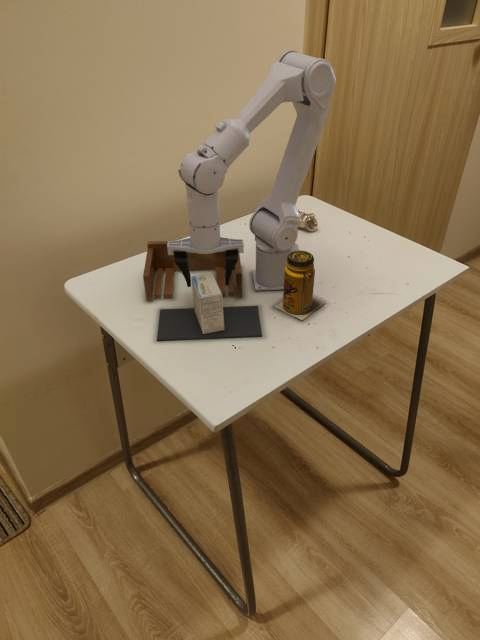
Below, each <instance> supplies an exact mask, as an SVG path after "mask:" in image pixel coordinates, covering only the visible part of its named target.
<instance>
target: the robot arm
mask: <svg viewBox="0 0 480 640" xmlns="http://www.w3.org/2000/svg"><path fill="white" fill-rule="evenodd" d="M269 69H270V70H269V74H268V76H267V78H266V79H265V80H264V81H263V83H262V84H261V86H259V88H258V89H257V91H256V92H255V93H254V94H253V96H252V97H251V98H250V100H248V102H247V103H246V104H245V106H244V107H243V108H242V110H241V111H240V112H239V113H238V115H237V116H236V117H235V118H226V119H224V120H223V121H219V122H218V123H217V124H216V125H215V130H214V131H213V132H212V134H211V135H209V137H208V138H207V139H206V140H205V141H204V143H203V144H200V145H199V146H198V147H197V148H196V149H197V150H196V151H193V152H189V153H187V154H186V155H185V156H184V157H183V159H182V161H181V163H180V168H178V170H177V173H178V176H179V178H180V180H182V181H183V183H184V184H185V185H184V186H185V192H186V194H185V195H186V206H187V216H188V229H189V230H188V231H189V238H183V239H178V240H167V241H168V243H167V249H168V255H174V261H175V263H176V265H177V266H178V267H179V269H180V270H181V271H180V272H181V274H182V276H183V278H184V280H185V283H186V287H187V288H192V276H191V271H190V270H189V262H188V253H199V254H211V253H216V252H225V263H226V266H225V270H224V279H225V287H228V286H229V281H230V277H231V273H232V272H234V267H235V265H236V263H237V261H238V253H239V254H244V252H245V251H244V250H245V249H244V248H245V247H244V246H245V245H244V244H245V243H244V239H238V238H237V239H236V238H228V237H222V236H221V222H220V221H221V220H220V202H219V201H220V200H219V189H221V188H222V187H223V185H224V182H225V176H226V174H227V173H228V170H229V168H230V167H231V165H232V164H233V163H234V162H235V161H236V160H237V159H238V158H239V157H240V156H241V154H242V153H243V152H244V151H245V150H246V149H247V148H248V147H249V145H250V135H251V133H253V131H254V130H256V128H258V127H259V126H260V124H262V123H263V122H264V121H265V120H266V119H268V117H269V116H270V115H271V114H272V113H273V112H274V111H275V110H276V109H277V108H278V107H280V105H281V104H283V103H292V105H293V107H294V110H295V112H296V118H295V120H294V123H293V126H292V129H291V133H290V135H289V138H288V141H287V143H286V148H285V150H284V152H283V155H282V159H281V162H280V165H279V168H278V171H277V173H276V176H275V179H274V181H273V182H274V183H273V186H272V188H271V191H270V194H269V195H268V196H267V197H265V198H262V199H261V200H259V203H258V205H257V208H256V209H255V211H254V212H253V214H251V217H250V219H249V224H248V225H249V230H250V232H251V234H252V235H254V241H255V269H254V270H252V279H253V285H254V286H253V287H254V290H255V291H280V290H281V291H282V290H283V291H284V273H285V267H286V266H287V256H288V254H289V253H291V252H293V251H298V250H299V251H300V247H299V244H298V243H296V242H297V240H298V235H299V227H298V225H299V222H300V217H299V214H300V213H299V212H298V208H297V206H296V204H297V201H298V199H299V196H300V194H301V191H302V188H303V185H304V183H305V180H306V177H307V174H308V172H309V169H310V166H311V163H312V162H313V158H314V154H315V153H316V150H317V147H318V144H319V141H320V138H321V136H322V133H323V130H324V128H325V125H326V122H327V120H328V116H329V114H330V112H329V111H330V105H331V104H330V103H331V102H330V101H331V98H332V95H333V93H334V89H335V86H336V84H337V78H336V75H335V72H334V68H333V66H332V64H331V62H329V60H327V59H325V58H321V57H319V58H318V57H315V56H311V55H307V54H305V53H300V52H299V51H296V50H293V49H291V50H290V49H289V50H286V51H284V52H283V53H282V54H281V55H280V56H279V57H278V60H277V61H275V62H274V63H273V64H272V65H270V68H269ZM298 213H299V214H298Z"/></svg>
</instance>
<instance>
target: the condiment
mask: <svg viewBox="0 0 480 640" xmlns="http://www.w3.org/2000/svg"><path fill="white" fill-rule="evenodd" d="M314 262H315V256H314V255H313V254H312V253H311V252H309V251H306V250H300V249H299V250H298V251H293V252H291V253H289V254H288V256H287V266H286V267H285V273H284V290H283V293H282V294H283V295H282V297H283V298H282V301H280V302H279V303H278V304H276V305H274V308H276V309H278V310H280V311H281V312H283V313H285V314H287V315H289V316H292V317H293V318H296V319H298V320H300V321H303V320H304V319H306V318H308V317H309V316H311V315H312V314H313V313H314V312H316V311H317V310H318V309H320V308H321V307H322V306H324V305H325V304H326V303H327V302H326V301H323V300H320V299H318V298H316V297H314V287H315V276H316V268H315V263H314Z"/></svg>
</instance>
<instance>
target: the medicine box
mask: <svg viewBox="0 0 480 640" xmlns="http://www.w3.org/2000/svg"><path fill="white" fill-rule="evenodd" d="M191 288H192V297H193V298H192V299H193V308H194V309H195V314H196V316H197V319H198V322H199V324H200V327H201V330H202V333H203V334H207V333H213V332H218V331H223V330H224V315H223V307H224V299H223V296H222V293H221V290H220V288H219V286H218V284H217V281H216V276H215V275H214V273H203V274H197V275H193V276H191Z"/></svg>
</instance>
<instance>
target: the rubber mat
mask: <svg viewBox="0 0 480 640" xmlns="http://www.w3.org/2000/svg"><path fill="white" fill-rule="evenodd" d="M223 315H224V330H223V331H218V332H213V333H207V334H203V333H202V330H201V327H200V324H199V322H198V319H197V316H196V314H195V309H194V307H189V308H161V309H159V317H158V327H157V335H156V341H157V342H170V341H171V342H172V341H191V340H192V341H193V340H215V339H216V340H217V339H218V340H219V339H239V338H240V339H241V338H262V337H263V332H262V326H261V325H262V324H261V318H260V312H259V306H258V305H241V306H240V305H239V306H223Z"/></svg>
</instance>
